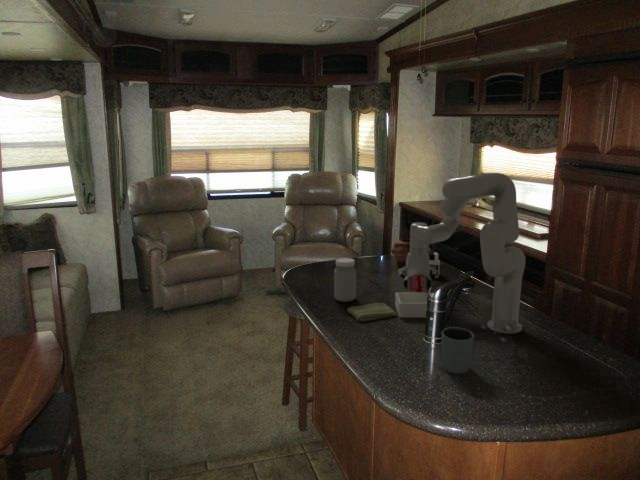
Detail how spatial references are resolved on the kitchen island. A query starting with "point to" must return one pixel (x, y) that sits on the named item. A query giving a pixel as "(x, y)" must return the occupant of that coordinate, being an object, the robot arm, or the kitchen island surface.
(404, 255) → the decorative planter
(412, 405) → the kitchen island surface
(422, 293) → the tote
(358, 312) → the washcloth
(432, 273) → the robot arm
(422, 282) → the soda can
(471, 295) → the kitchen island surface
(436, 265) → the medicine bottle
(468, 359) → the grey teal cup
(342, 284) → the jar
